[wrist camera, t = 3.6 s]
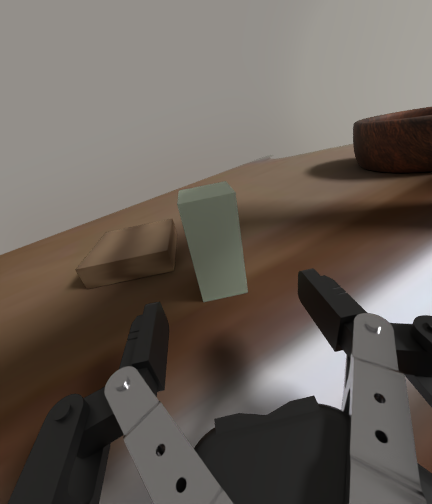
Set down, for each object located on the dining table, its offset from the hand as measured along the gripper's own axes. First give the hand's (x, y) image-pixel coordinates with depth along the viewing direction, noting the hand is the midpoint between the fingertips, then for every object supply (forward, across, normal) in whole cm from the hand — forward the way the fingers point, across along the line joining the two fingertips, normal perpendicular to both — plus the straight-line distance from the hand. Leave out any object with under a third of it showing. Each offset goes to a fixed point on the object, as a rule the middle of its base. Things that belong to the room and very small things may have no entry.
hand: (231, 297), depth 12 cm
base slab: (+19, +11, +6) cm, 23 cm away
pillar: (+9, 0, +6) cm, 11 cm away
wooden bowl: (+38, -49, +6) cm, 62 cm away
